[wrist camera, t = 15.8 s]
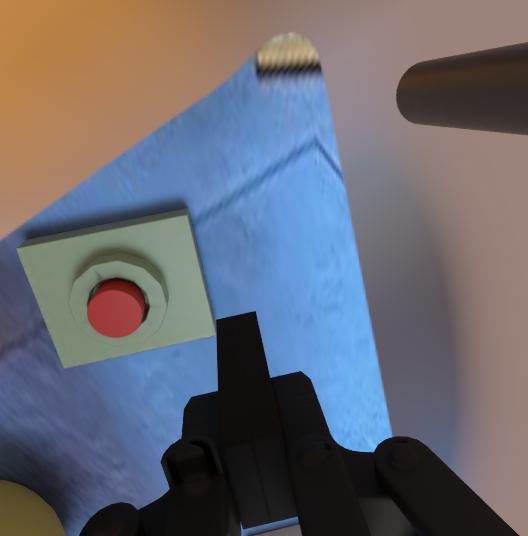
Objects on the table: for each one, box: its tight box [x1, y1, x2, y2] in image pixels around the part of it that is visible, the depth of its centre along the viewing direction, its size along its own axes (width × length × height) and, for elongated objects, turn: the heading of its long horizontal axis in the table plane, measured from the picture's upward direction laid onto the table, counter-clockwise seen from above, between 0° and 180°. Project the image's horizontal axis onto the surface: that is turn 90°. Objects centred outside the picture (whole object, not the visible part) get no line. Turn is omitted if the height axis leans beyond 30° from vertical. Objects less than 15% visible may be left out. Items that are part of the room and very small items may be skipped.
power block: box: [16, 208, 216, 369], centre depth 33 cm, size 12×10×4 cm
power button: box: [87, 280, 145, 338], centre depth 30 cm, size 4×4×2 cm
